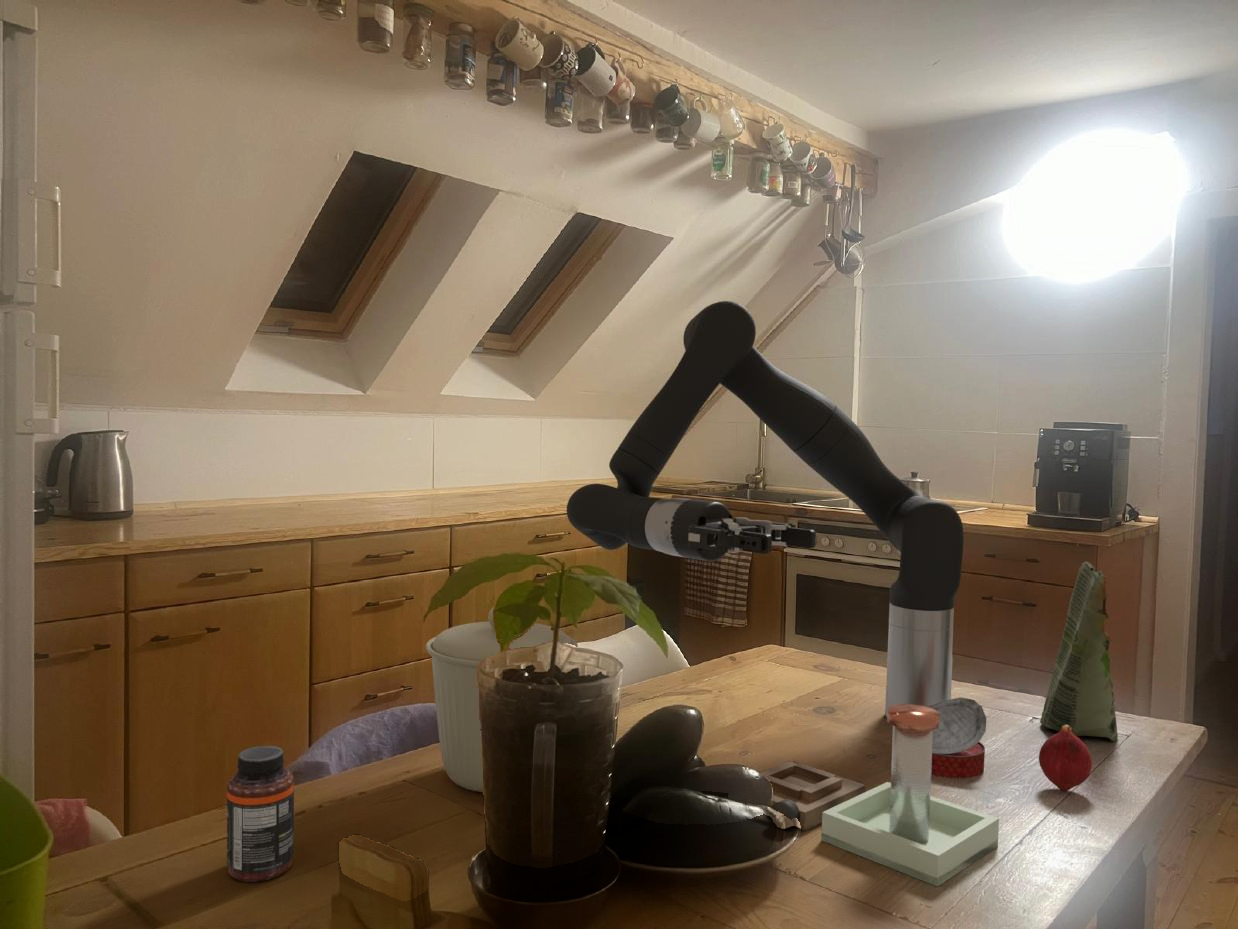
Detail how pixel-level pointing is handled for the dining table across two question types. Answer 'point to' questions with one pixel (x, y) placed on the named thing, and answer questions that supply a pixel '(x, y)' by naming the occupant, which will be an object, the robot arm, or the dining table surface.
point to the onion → (1065, 759)
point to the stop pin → (911, 770)
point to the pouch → (1083, 665)
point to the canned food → (958, 739)
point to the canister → (468, 691)
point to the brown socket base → (808, 791)
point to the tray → (947, 852)
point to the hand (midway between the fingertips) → (792, 542)
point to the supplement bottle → (260, 816)
